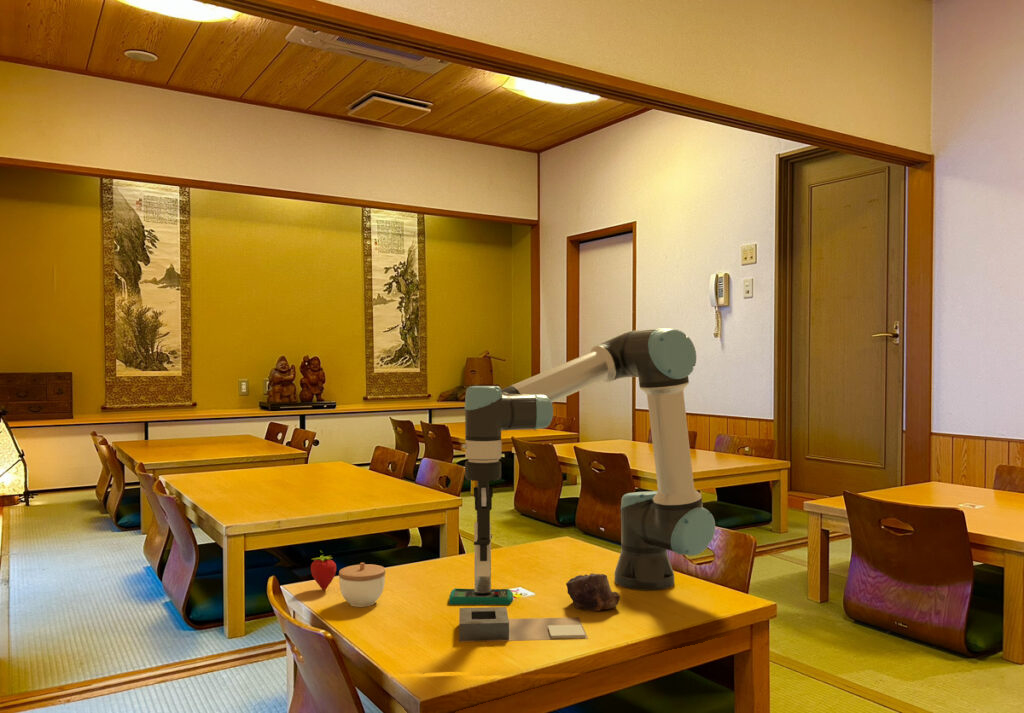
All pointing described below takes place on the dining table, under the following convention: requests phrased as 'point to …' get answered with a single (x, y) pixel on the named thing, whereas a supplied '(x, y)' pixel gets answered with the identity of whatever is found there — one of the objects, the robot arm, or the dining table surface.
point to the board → (536, 628)
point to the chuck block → (483, 624)
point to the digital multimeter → (481, 597)
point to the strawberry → (323, 571)
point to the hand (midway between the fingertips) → (483, 573)
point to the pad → (566, 631)
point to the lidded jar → (362, 584)
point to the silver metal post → (480, 582)
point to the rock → (592, 592)
